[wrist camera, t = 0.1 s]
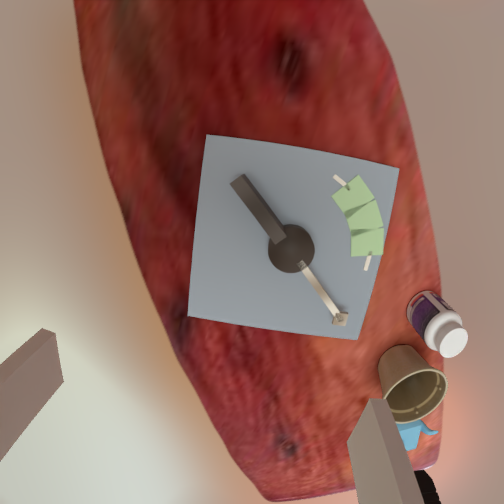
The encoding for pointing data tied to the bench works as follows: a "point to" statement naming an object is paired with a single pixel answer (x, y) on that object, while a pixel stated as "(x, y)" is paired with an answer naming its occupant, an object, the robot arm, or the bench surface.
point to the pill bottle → (437, 324)
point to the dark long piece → (285, 242)
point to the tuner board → (288, 212)
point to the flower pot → (410, 384)
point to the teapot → (413, 433)
